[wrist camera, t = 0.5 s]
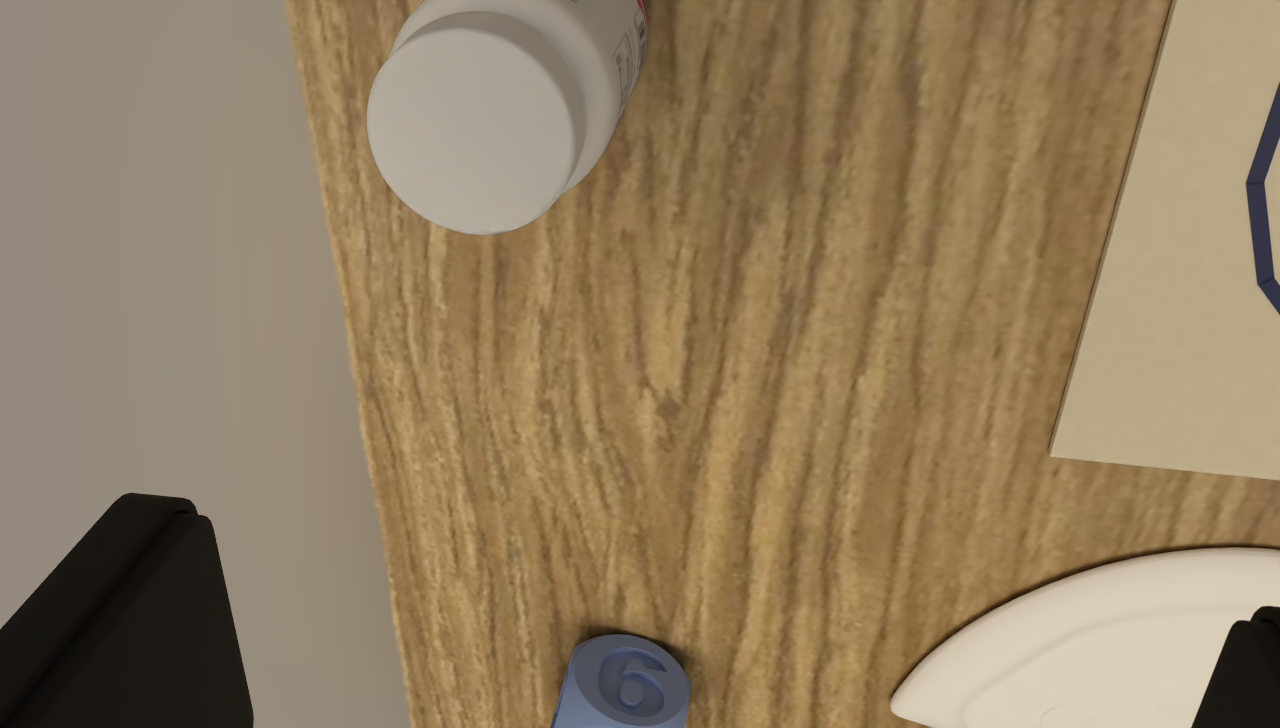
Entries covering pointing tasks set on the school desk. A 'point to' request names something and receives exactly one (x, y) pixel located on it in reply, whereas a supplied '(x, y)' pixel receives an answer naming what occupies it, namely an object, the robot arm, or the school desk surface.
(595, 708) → the decorative dice
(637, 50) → the pill bottle
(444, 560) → the school desk surface
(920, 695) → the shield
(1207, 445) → the sheet
